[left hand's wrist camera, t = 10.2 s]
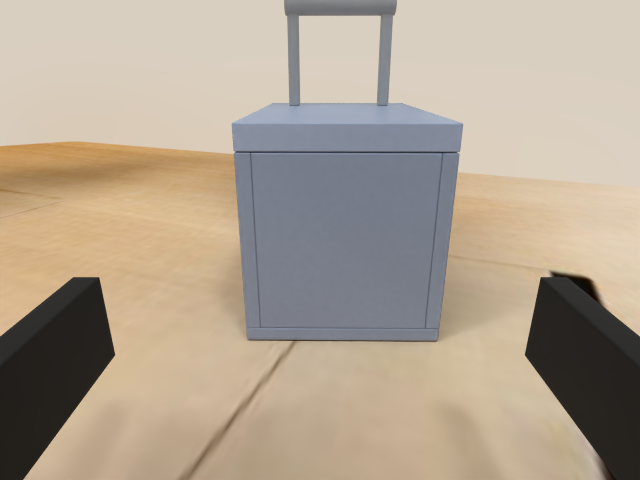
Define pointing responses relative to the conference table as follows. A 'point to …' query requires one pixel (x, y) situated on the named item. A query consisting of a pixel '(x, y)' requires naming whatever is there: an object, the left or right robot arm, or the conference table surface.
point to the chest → (344, 243)
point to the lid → (344, 118)
